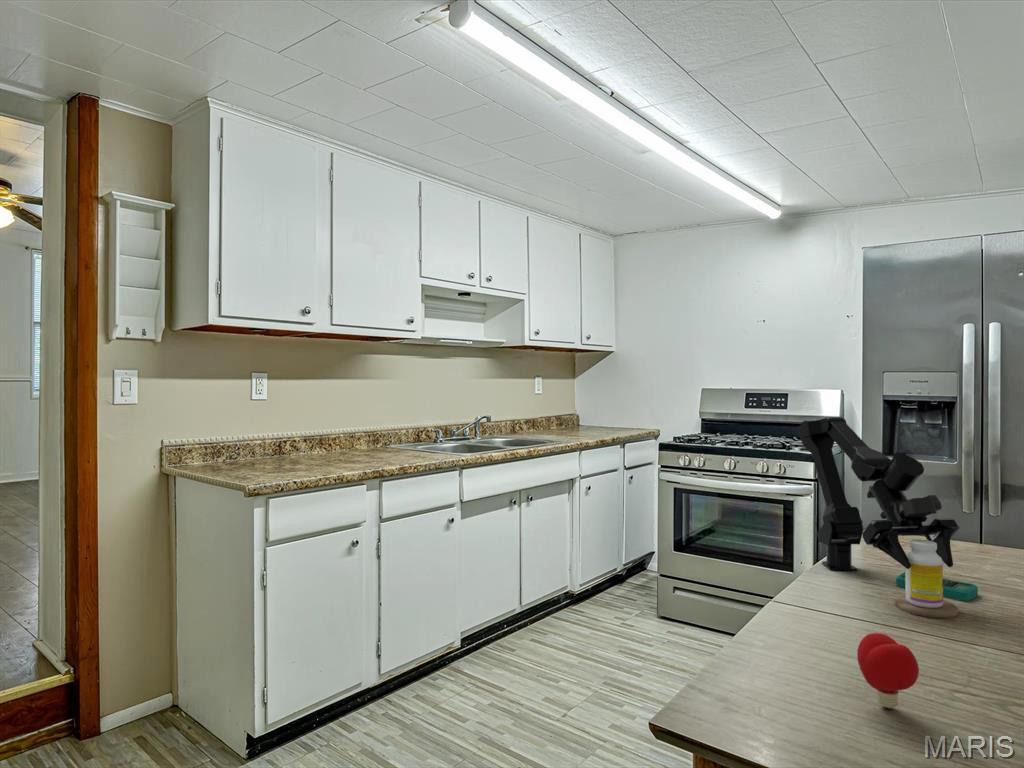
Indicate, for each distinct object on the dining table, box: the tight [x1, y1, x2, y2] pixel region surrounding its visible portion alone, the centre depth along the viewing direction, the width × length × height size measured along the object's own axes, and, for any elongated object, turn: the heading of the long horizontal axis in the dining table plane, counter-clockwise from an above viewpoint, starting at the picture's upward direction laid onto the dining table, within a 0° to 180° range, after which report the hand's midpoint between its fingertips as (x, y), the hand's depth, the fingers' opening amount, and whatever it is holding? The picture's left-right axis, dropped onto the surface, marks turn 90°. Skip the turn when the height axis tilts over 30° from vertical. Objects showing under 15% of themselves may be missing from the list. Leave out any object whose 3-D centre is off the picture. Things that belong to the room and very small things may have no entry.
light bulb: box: [856, 632, 920, 711], centre depth 94 cm, size 9×7×10 cm
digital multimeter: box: [895, 571, 979, 602], centre depth 147 cm, size 7×15×3 cm, turn 39°
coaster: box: [894, 595, 959, 619], centre depth 135 cm, size 11×11×1 cm
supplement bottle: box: [904, 539, 944, 608], centre depth 135 cm, size 7×7×13 cm
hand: (930, 567), depth 134 cm, fingers open, 9 cm apart
